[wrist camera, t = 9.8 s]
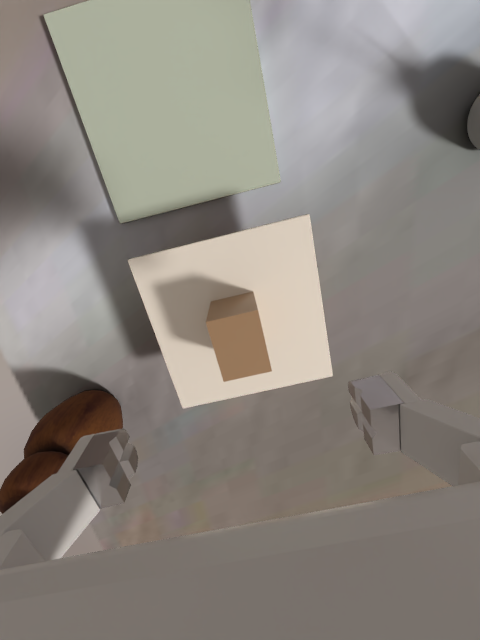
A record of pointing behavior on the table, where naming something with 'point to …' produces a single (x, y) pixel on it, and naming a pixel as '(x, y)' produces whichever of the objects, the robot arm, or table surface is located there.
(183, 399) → the lid
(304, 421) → the table surface
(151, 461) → the table surface
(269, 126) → the mat
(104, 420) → the wooden figurine
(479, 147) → the reed diffuser
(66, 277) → the table surface
